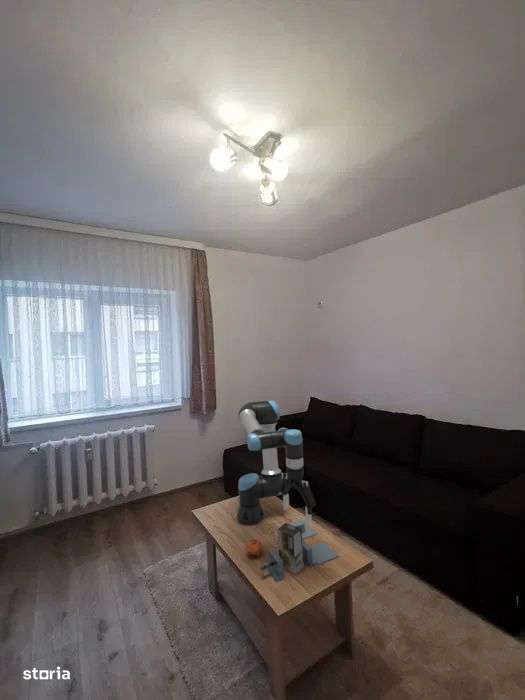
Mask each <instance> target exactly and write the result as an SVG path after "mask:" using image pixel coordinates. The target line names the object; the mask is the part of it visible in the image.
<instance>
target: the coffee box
mask: <svg viewBox="0 0 525 700" xmlns="http://www.w3.org/2000/svg"><path fill="white" fill-rule="evenodd" d="M276 532H277V543H278V544H277V545H278V547H277V548H278V549H277V550H278V554H279V556H280V557H281V558H282V560H283V569H285V570H287V571H289V572H291V573H292V574H294V575H297V574H298V573H299V572H300V571H301V570H302V569H303V568H304V567H305V565H304V562H303V547H302V529H300V528H297V527H295V526H292V525H290V523H287V522H285V523H283V524H282V525H281V526H280V527H278V529H277V531H276Z"/></svg>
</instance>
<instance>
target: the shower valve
mask: <svg viewBox="0 0 525 700" xmlns="http://www.w3.org/2000/svg"><path fill="white" fill-rule="evenodd" d="M289 524H290V525H292V526H295V527H297V528H300V529H302V539H303V540H305V539H309V538H312V537H313V536H316V535H318V532H317V530H315V529H314V528H313V527H312V526H311V525H310V524H309V522H308V523H307V522H306V520H303V519H297V520H295V521H292V522H290V523H289Z"/></svg>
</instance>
